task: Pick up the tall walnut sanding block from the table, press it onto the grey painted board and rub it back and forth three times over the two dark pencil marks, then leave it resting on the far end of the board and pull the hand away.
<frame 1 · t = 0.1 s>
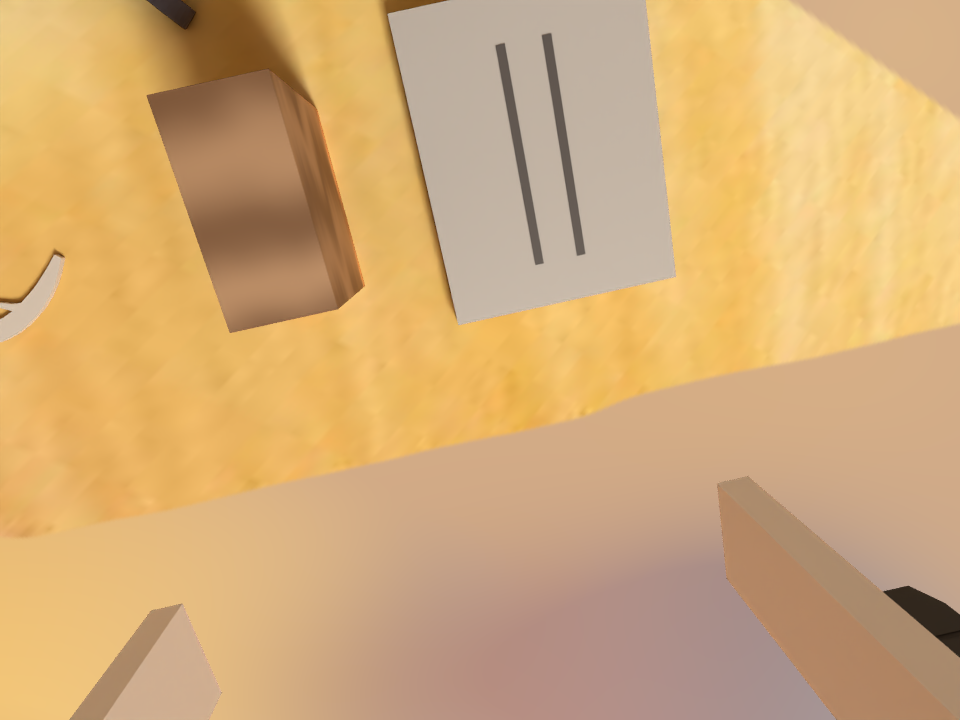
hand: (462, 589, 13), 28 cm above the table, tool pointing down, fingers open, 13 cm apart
board: (538, 157, 37), on the table
sanding block: (299, 210, 37), on the table
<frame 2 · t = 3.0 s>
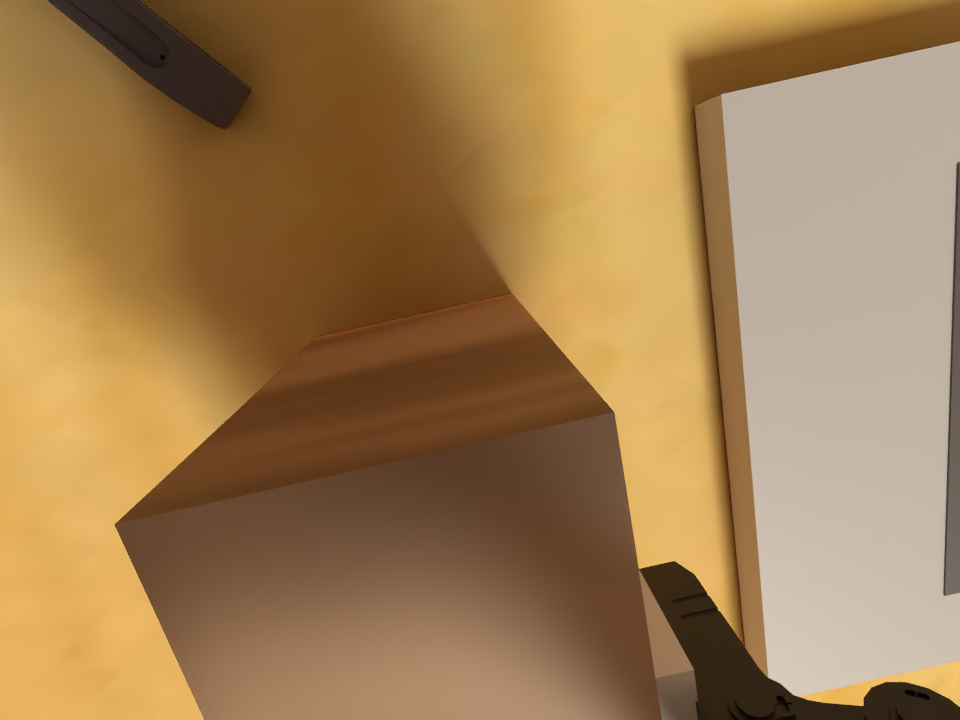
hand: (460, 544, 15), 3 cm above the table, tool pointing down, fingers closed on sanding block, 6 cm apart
sanding block: (458, 490, 17), on the table, touching gripper
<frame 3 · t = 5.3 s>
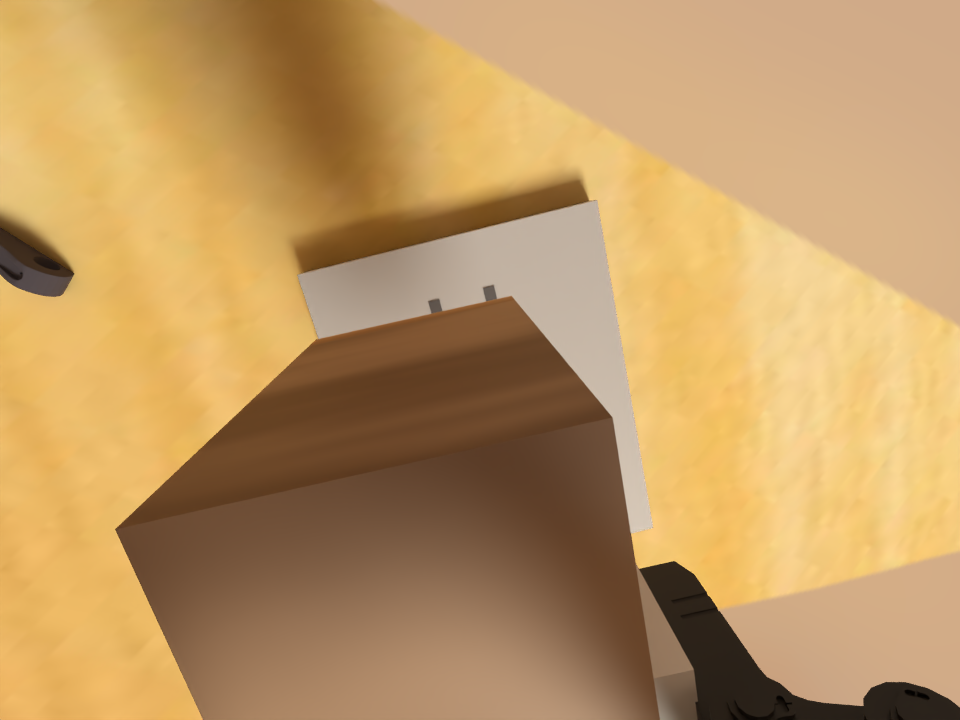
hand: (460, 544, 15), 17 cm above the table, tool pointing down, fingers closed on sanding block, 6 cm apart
board: (488, 403, 32), on the table
sanding block: (458, 492, 17), point 14 cm above the table, touching gripper
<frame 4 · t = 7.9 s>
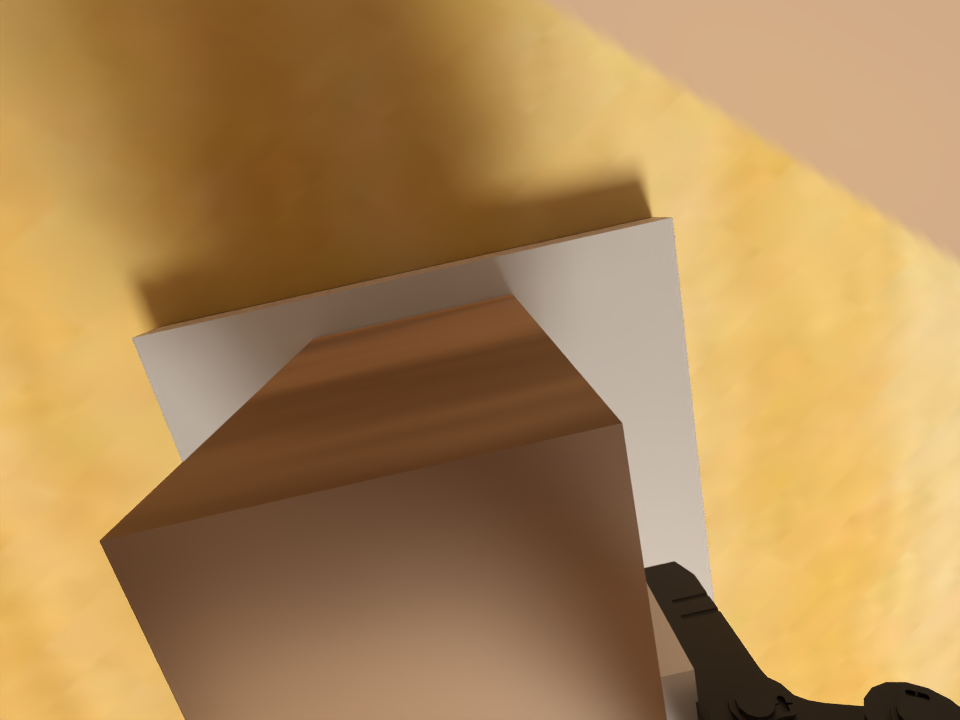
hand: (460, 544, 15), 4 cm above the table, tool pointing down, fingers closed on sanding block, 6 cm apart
board: (473, 539, 19), on the table
sanding block: (458, 493, 17), point 2 cm above the table, touching board, gripper
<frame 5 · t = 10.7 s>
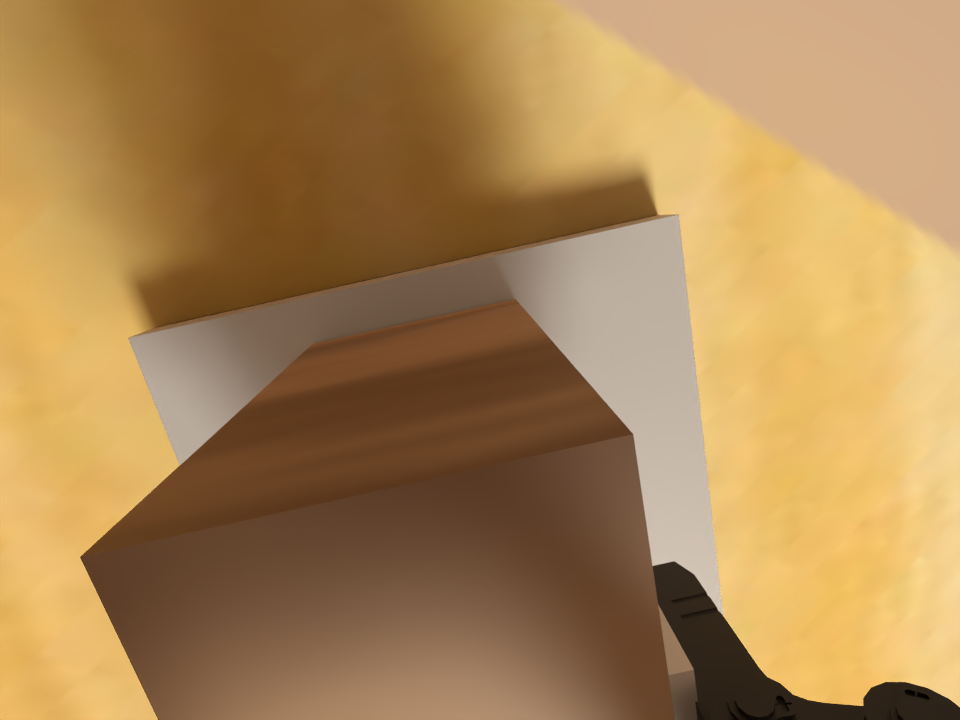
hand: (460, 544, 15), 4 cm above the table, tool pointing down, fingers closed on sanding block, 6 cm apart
board: (476, 544, 19), on the table
sanding block: (459, 502, 17), point 2 cm above the table, touching gripper
when the fingers open (5 cm above the table, at t = 13.0 s): sanding block drops 1 cm, resting on board.
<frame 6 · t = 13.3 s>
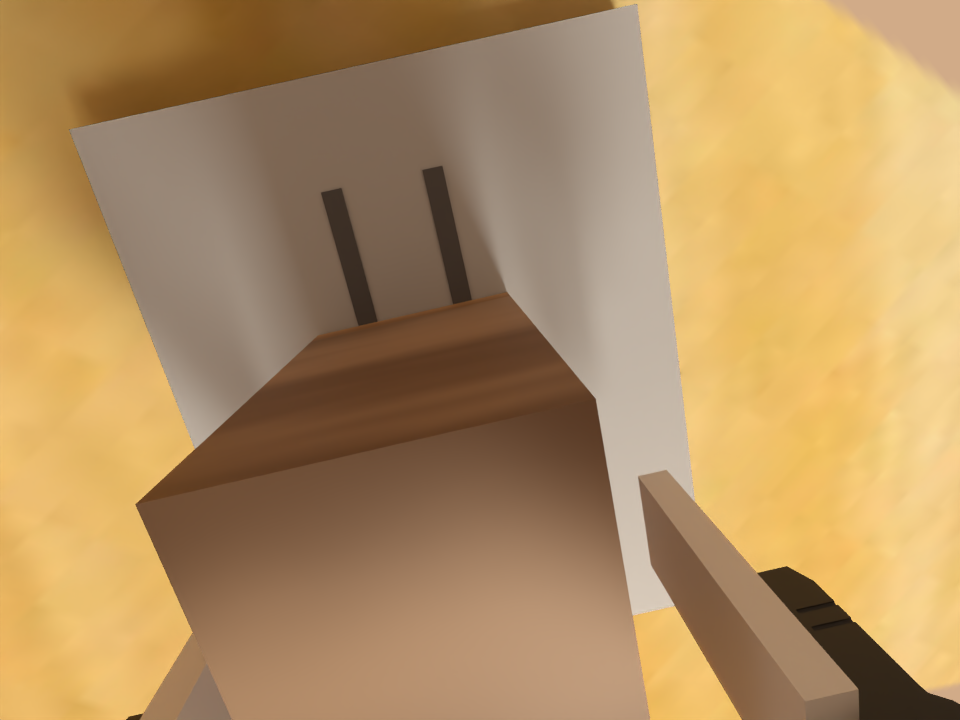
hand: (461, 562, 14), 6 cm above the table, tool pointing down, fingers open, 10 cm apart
board: (438, 386, 19), on the table
sanding block: (456, 483, 18), point 2 cm above the table, touching board
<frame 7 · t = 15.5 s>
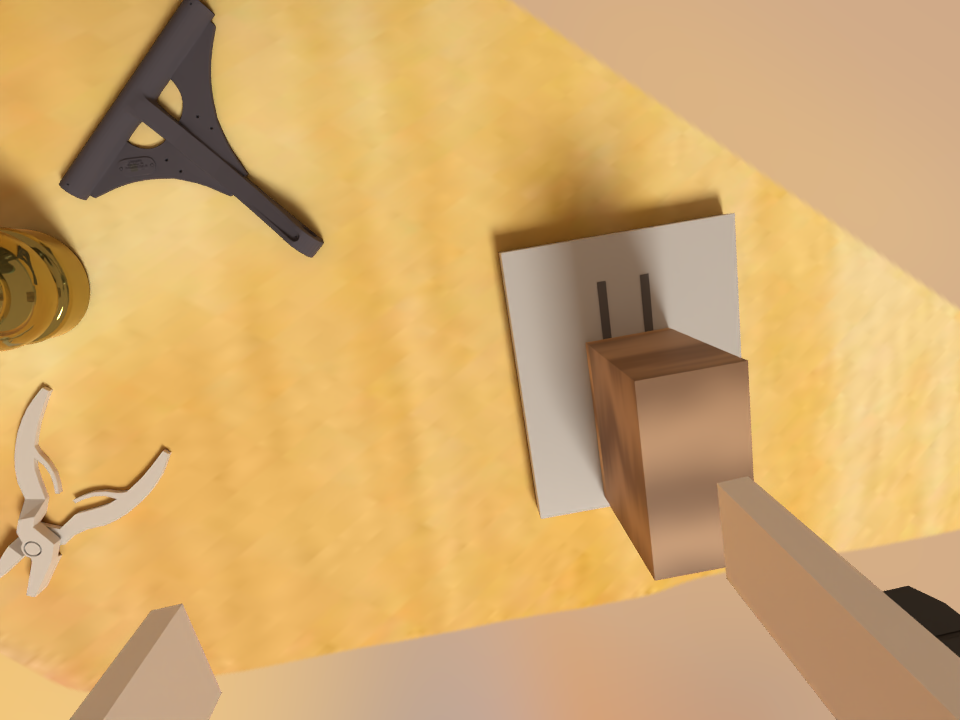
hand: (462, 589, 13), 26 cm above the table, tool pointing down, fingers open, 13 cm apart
brass door knob: (37, 284, 36), on the table
board: (625, 369, 39), on the table
sanding block: (635, 414, 38), point 2 cm above the table, touching board
pliers: (70, 497, 40), on the table
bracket: (230, 176, 35), on the table
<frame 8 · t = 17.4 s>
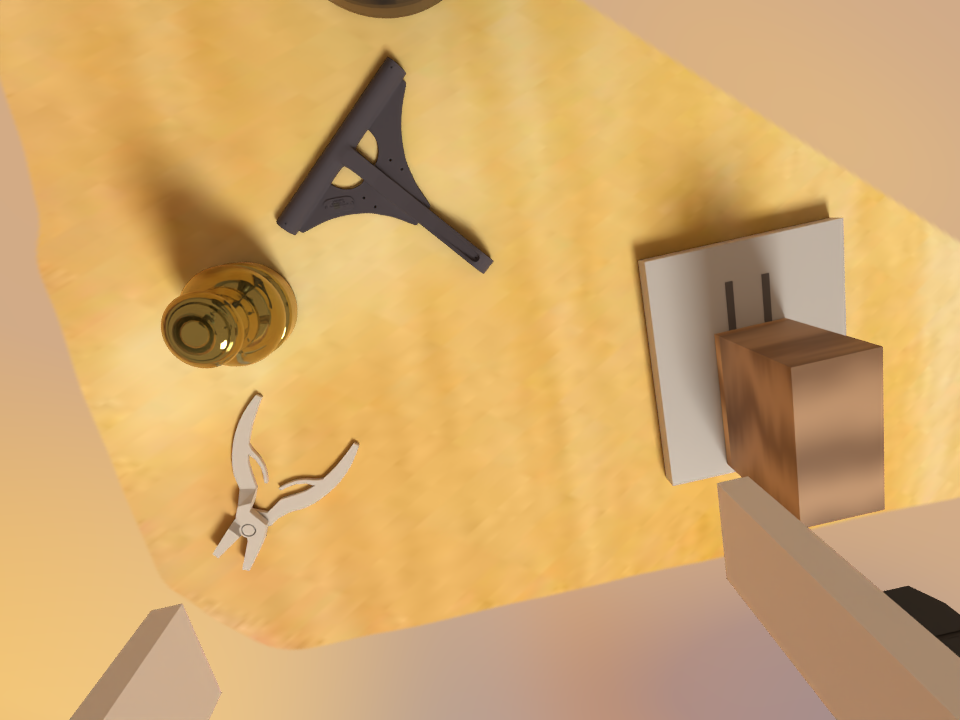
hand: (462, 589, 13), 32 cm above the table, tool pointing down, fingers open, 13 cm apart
brass door knob: (252, 307, 42), on the table
board: (743, 355, 46), on the table
sanding block: (755, 393, 45), point 2 cm above the table, touching board
pliers: (273, 486, 47), on the table
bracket: (411, 207, 42), on the table
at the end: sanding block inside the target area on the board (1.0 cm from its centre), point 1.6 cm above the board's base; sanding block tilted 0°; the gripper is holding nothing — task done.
